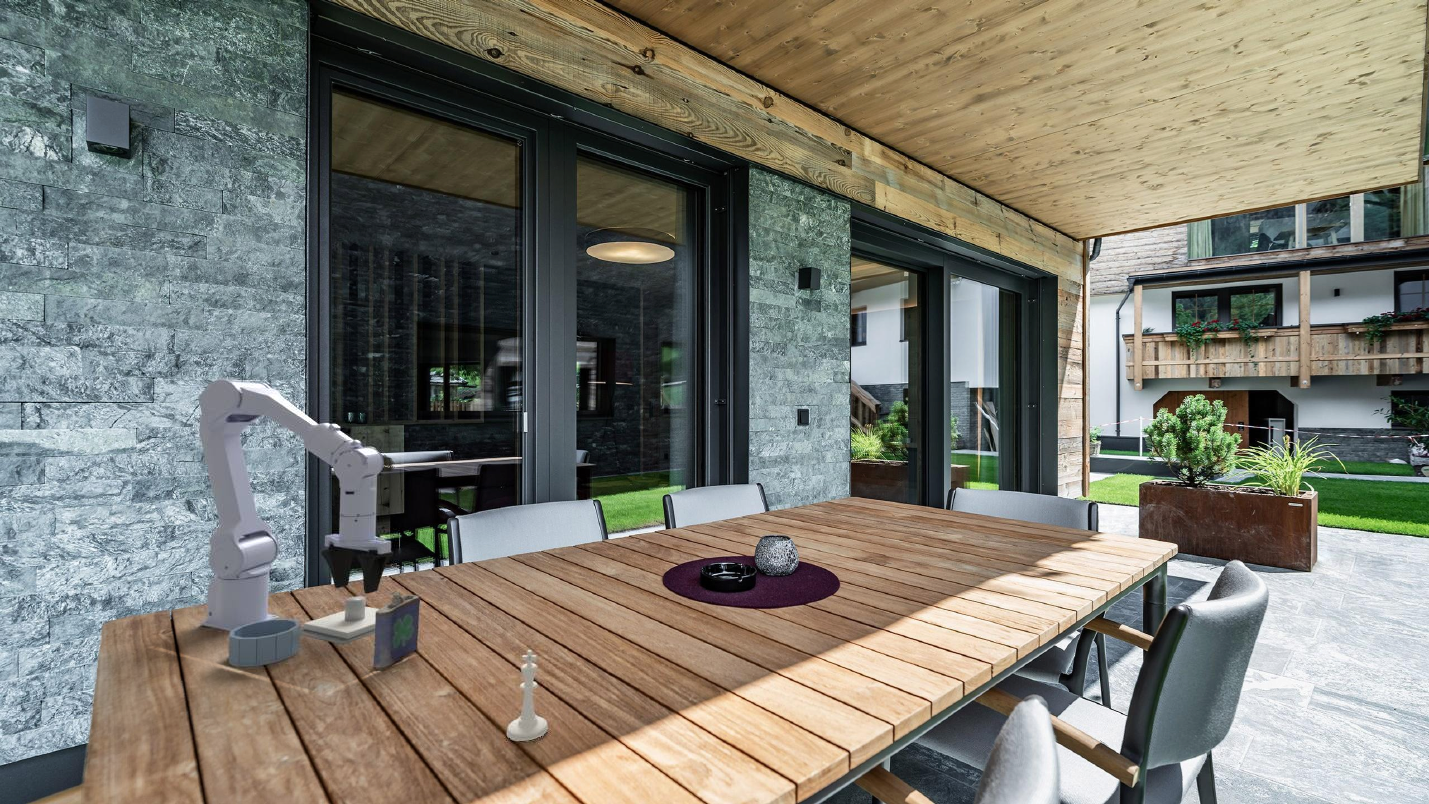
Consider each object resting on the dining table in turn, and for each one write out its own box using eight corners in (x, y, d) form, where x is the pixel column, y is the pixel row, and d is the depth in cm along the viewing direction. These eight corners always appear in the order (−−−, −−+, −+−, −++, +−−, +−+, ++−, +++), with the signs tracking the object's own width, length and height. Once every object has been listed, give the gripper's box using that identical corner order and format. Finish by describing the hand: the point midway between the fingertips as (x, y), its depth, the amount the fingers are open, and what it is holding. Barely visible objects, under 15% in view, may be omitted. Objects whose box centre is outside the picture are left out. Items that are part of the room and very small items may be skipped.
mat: (286, 633, 107) (286, 631, 107) (364, 608, 121) (364, 606, 121) (342, 646, 102) (343, 644, 102) (417, 619, 116) (417, 617, 116)
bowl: (214, 662, 95) (216, 633, 95) (275, 642, 103) (276, 615, 103) (252, 673, 91) (253, 642, 92) (312, 651, 100) (312, 623, 100)
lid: (304, 628, 109) (304, 603, 109) (360, 610, 119) (361, 587, 119) (347, 638, 105) (348, 612, 105) (402, 619, 115) (403, 594, 115)
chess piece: (512, 721, 79) (514, 643, 79) (551, 721, 80) (553, 643, 80) (502, 742, 74) (504, 659, 74) (543, 741, 75) (545, 658, 75)
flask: (384, 672, 93) (386, 601, 93) (366, 670, 93) (368, 599, 93) (422, 649, 102) (423, 584, 102) (405, 648, 102) (407, 583, 103)
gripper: (309, 514, 111) (307, 589, 111) (366, 521, 106) (364, 600, 105) (345, 508, 118) (343, 580, 117) (401, 514, 112) (399, 589, 112)
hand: (356, 589), depth 112 cm, fingers open, 7 cm apart
